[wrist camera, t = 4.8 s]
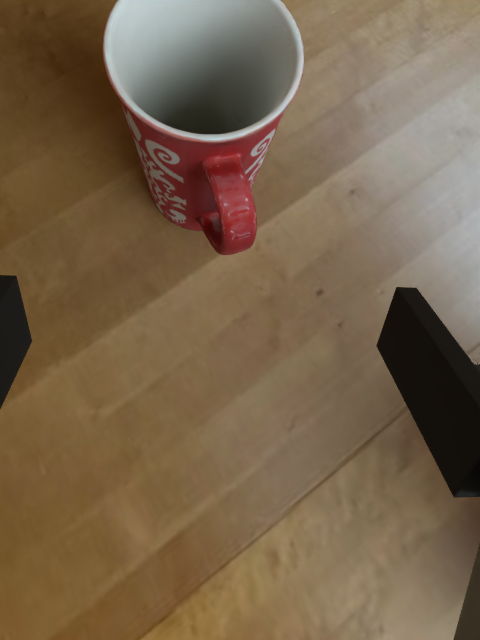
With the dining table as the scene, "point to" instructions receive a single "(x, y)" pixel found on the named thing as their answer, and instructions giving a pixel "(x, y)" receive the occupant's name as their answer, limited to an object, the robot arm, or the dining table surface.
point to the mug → (204, 102)
